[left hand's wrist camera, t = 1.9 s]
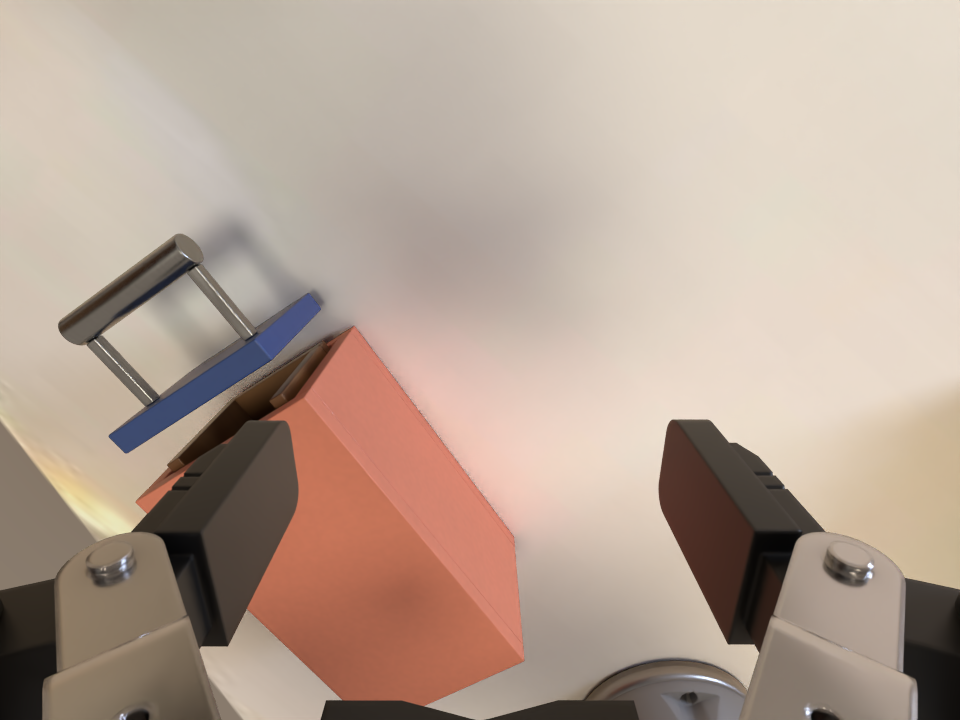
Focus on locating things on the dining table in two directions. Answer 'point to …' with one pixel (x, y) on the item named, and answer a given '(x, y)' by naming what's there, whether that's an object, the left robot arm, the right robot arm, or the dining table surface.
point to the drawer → (211, 374)
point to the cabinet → (383, 545)
